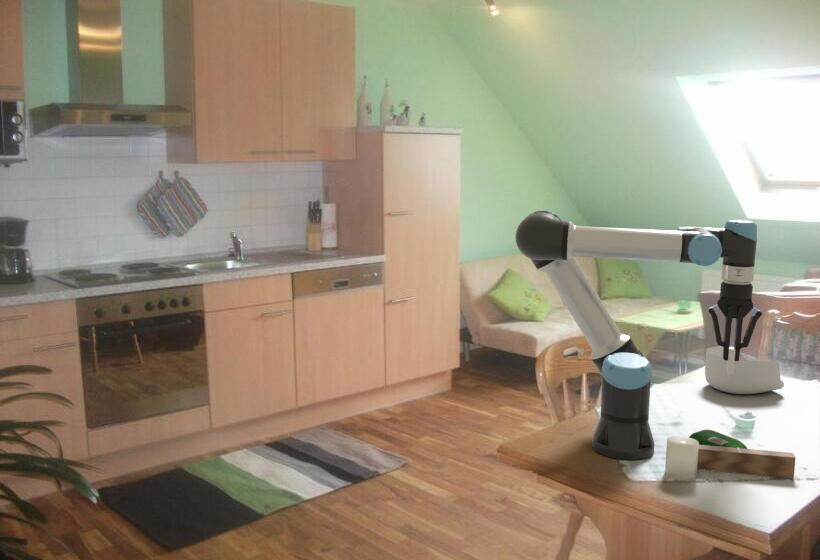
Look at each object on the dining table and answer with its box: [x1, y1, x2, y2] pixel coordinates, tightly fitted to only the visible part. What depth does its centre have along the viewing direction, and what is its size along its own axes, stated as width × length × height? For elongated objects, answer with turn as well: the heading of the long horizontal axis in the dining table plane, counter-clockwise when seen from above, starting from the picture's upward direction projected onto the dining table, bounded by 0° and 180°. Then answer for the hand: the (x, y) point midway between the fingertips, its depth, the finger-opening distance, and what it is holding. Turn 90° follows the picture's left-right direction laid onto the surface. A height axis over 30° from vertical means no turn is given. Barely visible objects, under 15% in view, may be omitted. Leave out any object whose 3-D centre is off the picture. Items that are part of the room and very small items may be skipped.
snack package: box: [688, 429, 748, 449], centre depth 202 cm, size 7×16×5 cm, turn 28°
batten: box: [697, 445, 796, 479], centre depth 192 cm, size 22×3×5 cm, turn 76°
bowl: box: [704, 345, 785, 395], centre depth 257 cm, size 20×19×12 cm
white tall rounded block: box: [664, 435, 699, 481], centre depth 190 cm, size 7×7×8 cm
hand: (729, 372), depth 210 cm, fingers closed
